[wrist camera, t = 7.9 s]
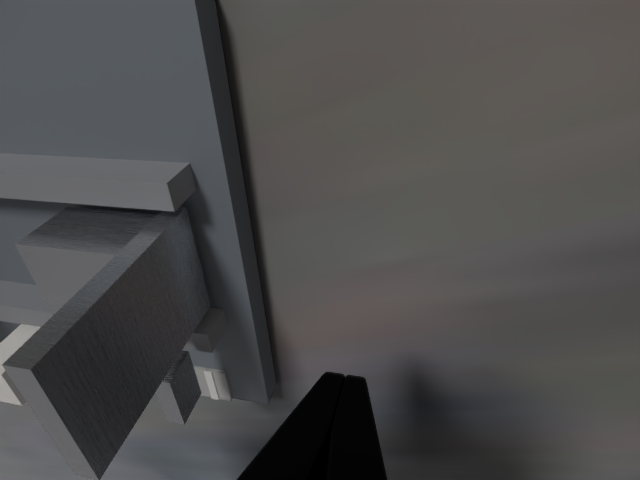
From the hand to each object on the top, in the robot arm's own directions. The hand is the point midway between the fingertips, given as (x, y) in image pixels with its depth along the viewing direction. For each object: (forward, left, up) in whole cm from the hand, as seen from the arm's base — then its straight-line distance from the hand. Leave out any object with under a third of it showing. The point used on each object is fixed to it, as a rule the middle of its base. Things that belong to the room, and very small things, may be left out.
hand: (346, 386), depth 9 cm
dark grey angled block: (+7, +1, -4) cm, 8 cm away
